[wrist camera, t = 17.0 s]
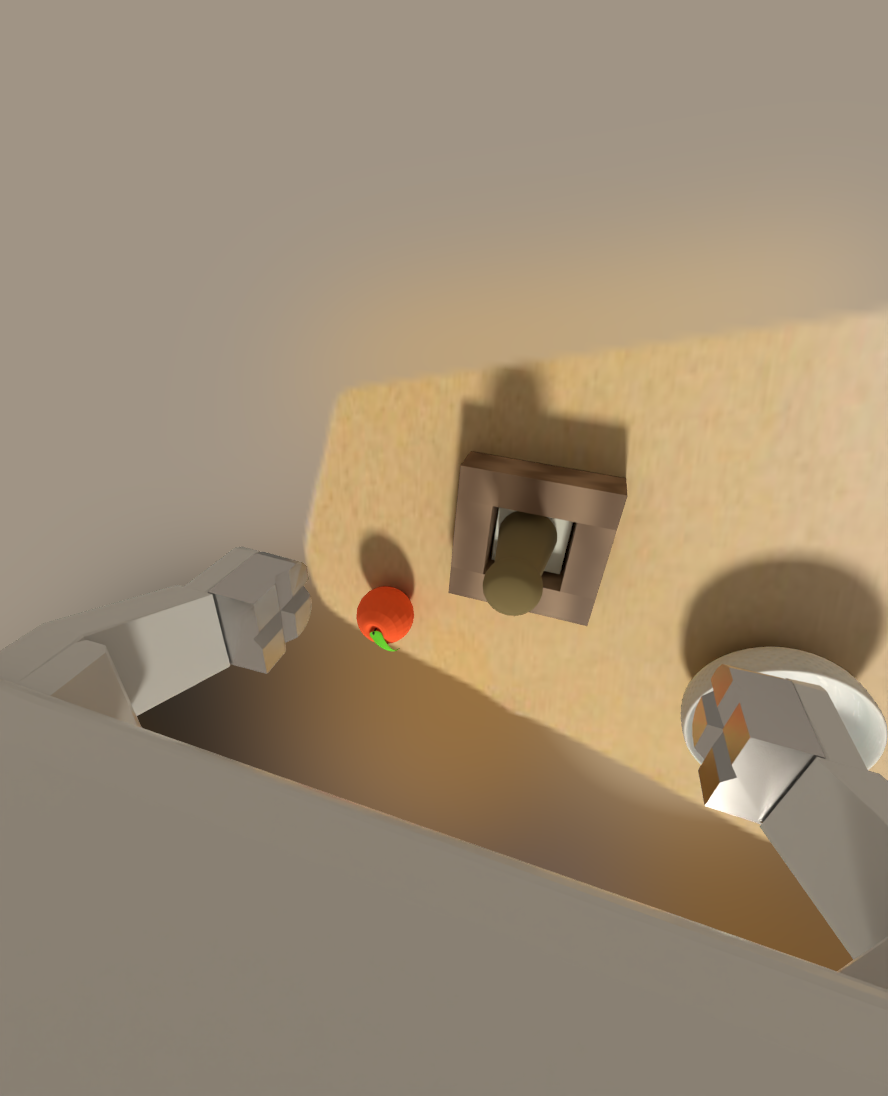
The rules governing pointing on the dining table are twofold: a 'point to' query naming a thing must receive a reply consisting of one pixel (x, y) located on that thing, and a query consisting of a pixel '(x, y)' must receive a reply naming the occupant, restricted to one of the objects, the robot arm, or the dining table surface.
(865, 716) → the cereal bowl
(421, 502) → the dining table surface
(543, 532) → the olive pepper mill
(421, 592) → the dining table surface
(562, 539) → the cream square tile
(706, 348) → the dining table surface
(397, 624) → the clementine
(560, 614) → the socket block
